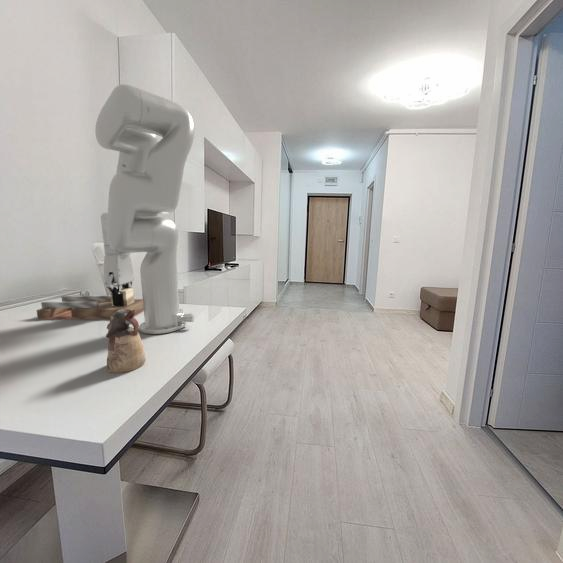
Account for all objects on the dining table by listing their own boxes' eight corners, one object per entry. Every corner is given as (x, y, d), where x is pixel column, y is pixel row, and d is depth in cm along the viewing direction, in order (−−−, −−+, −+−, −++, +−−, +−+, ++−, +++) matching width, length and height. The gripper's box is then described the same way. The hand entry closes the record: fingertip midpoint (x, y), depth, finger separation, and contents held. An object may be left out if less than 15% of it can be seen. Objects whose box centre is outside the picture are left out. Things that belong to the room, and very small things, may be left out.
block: (134, 302, 101) (132, 288, 100) (127, 305, 96) (125, 291, 95) (119, 302, 101) (118, 288, 100) (112, 306, 96) (110, 291, 95)
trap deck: (150, 307, 106) (149, 293, 105) (131, 318, 92) (129, 303, 91) (69, 307, 106) (67, 294, 105) (37, 319, 92) (35, 304, 91)
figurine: (122, 356, 64) (116, 304, 61) (152, 358, 63) (148, 305, 61) (99, 372, 57) (91, 314, 54) (132, 374, 56) (126, 315, 54)
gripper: (120, 249, 104) (125, 297, 107) (89, 252, 87) (96, 310, 90) (140, 248, 104) (145, 297, 107) (114, 252, 87) (120, 309, 90)
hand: (123, 302), depth 98 cm, fingers closed on block, 5 cm apart
